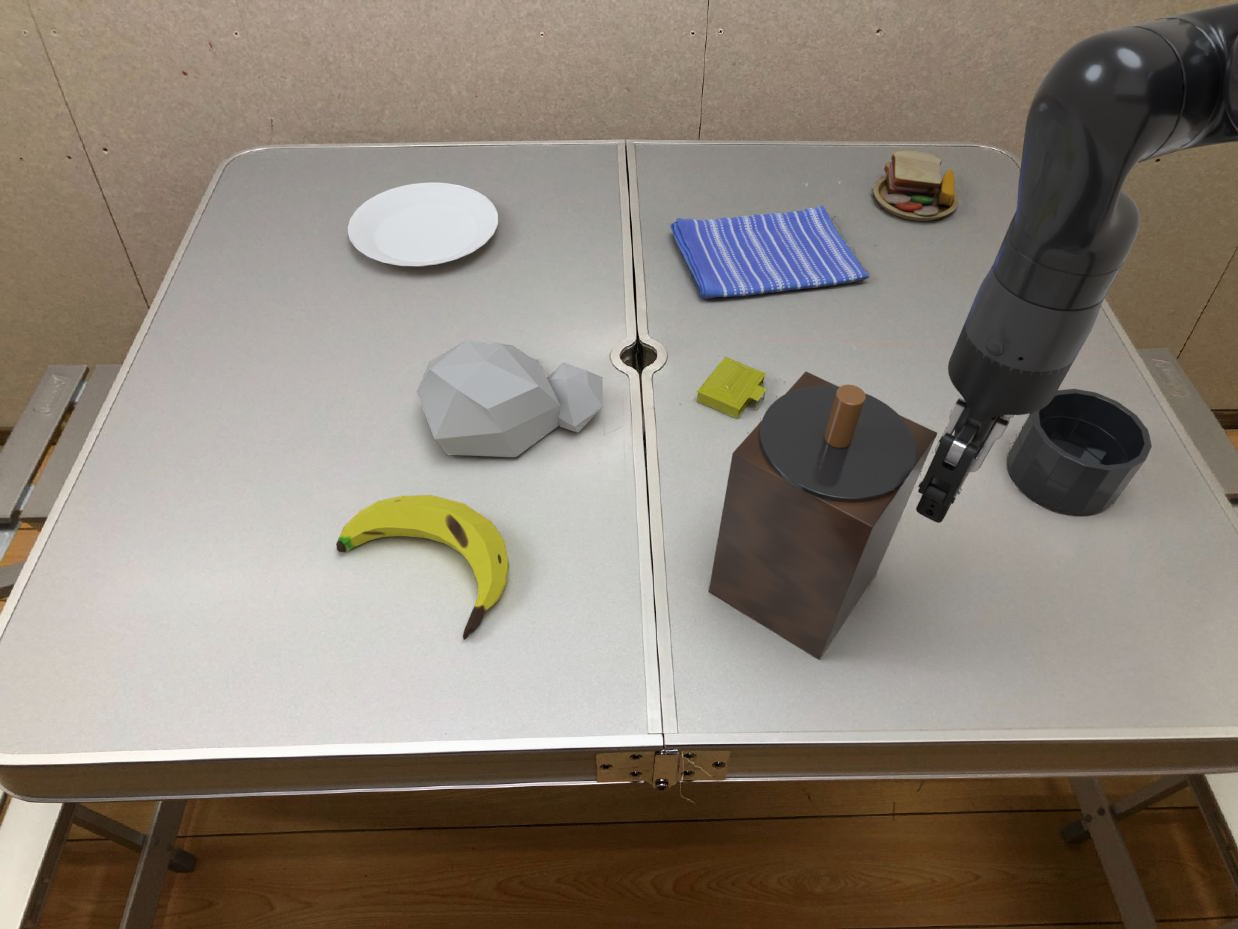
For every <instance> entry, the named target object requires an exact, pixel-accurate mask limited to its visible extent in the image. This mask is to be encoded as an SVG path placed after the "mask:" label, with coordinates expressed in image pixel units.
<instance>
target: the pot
mask: <svg viewBox="0 0 1238 929" xmlns="http://www.w3.org/2000/svg"><path fill="white" fill-rule="evenodd" d="M1152 447H1153V445H1152V441H1151V436H1150V431H1149V429H1148V428H1147V427H1146V426H1145V424H1144V423H1143V421H1142V420H1141V419H1140V418H1139V416H1138V415H1137V414H1136V413H1134V412H1133V411H1132V410H1131V409H1129V408H1127V407H1126V406H1125V405H1123V403H1121V402H1119V401H1118V400H1115V399H1113V398H1110V397H1108V396H1106V395H1103V394H1101V393H1098V392H1096V391H1091V390H1085V389H1079V388H1068V389H1058V391H1057V392H1056V394H1055V396H1054V398H1053V399H1052V401H1051V402H1050V403H1049V404H1048V405H1047V406H1045V407H1044V408H1042V409H1041V410H1039V411H1036V412H1033V413H1030V414H1028V416H1027V418H1026V420H1025V422H1024V424H1023V426H1022V427H1021V430H1020V431H1019V433H1018V435H1017V437H1016V439H1015V440H1014V442H1013V444H1012V445H1011V448H1010V449H1009V451H1008V453H1007V458H1006V466H1007V471H1008V475H1009V476H1010V478H1011V480H1012V482H1013V483H1014V485H1015V486H1016V487H1017V488H1018V489H1019V491H1020V492H1021V493H1022V494H1024V496H1026V497H1027V498H1028V499H1030V500H1031V501H1033V502H1034V503H1036V504H1037V505H1039V506H1041V507H1043V508H1045V509H1047V510H1050V511H1053V512H1056V513H1057V514H1062V515H1067V516H1073V517H1086V516H1087V517H1088V516H1093V515H1097V514H1101V513H1103V512H1105V511H1106V510H1108V509H1109V508H1110V507H1111V506H1113V505H1114V504H1115V503H1116V501H1117V500H1118V499H1119V498H1120V496H1121V495H1122V493H1124V490H1125V489H1126V488H1127V487H1128V485H1129V484H1130V483H1131V481H1132V480H1133V479H1134V477H1135V476H1136V474H1138V472H1139V470H1140V469H1141V468H1142V466H1143V465H1144V463H1145V462H1146V461H1147V459H1148V457H1149V454H1150V452H1151V449H1152Z"/></svg>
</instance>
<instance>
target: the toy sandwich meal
mask: <svg viewBox="0 0 1238 929" xmlns="http://www.w3.org/2000/svg"><path fill="white" fill-rule="evenodd" d="M890 160H891V161H888V162H887V163H885V165H884V168H883V171H884V172H885V176H883V177H881V178H879V179H878V180H877V181H876V182H875V184H874V185H873V195H874V197H875V200H876V201H877V202H878V204H879V205H880V206H881V208H883V209H884V210H885V211H887V212H888V213H889V214H891V215H893V216H896V217H898V218H901V219H905V220H909V221H915V222H929V221H936V220H939V219H942V218H943V217H946V216H948V215H949V214H950V215H951V213H953V212H954V211H955V210H956V209H957V207H958V206H959V197H958V195H957V194H958V193H956V192H955V175H954V171H953V169H947V170H946V171H945V174H944V176H943V178H942V172H941V164H942V162H943V159H942V157H939V156H938V155H935V154H932V153H928V152H924V151H919V150H906V149H905V150H896V151H894V152H893V153H892V155H891V158H890Z"/></svg>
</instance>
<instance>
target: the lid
mask: <svg viewBox="0 0 1238 929" xmlns="http://www.w3.org/2000/svg"><path fill="white" fill-rule="evenodd" d="M786 393H787V392H786ZM786 393H784V394H783V395H781V396H779V398H778V397H777V399H775V401H774V402H772V403H771V404H770V405H769V407H767V409H766V410H765V412H764V414H763V416H762V418H761V421H762V422H761V421H760V422H761V426H760V434H759V436H760V444H761V448H762V451H763V453H764V456H765V458H766V459H767V461H768V462H769V464H770V465H771V467H772V468H773V469H774V470H775V471H776V472H777V473H778V474H779V475H780V476H781V477H782V478H783V479H784V480H786V481H787V482H788V483H790V484H791V485H793V486H795V487H796V488H798V489H800V490H802V491H804V492H806V493H808V494H811V495H814V496H816V497H819V498H823V499H827V500H832V501H839V502H864V501H870V500H874V499H878V498H881V497H883V496H886V495H888V494H890V493H892V492H893V491H895V490H897V489H898V488H899V487H900V486H901V485H903V484H904V483H905V481H906V480H907V479H908V478H909V476H910V474H911V472H912V470H913V468H914V465H915V462H916V455H917V451H916V443H915V439H914V437H913V434H912V432H911V430H910V428H909V427H908V425H907V424H906V422H905V421H904V420H903V419H902V417H901V416H902V415H901V414H899V413H898V412H897V411H895V410H894V409H893V408H892V407H891V406H890V405H888V404H887V403H885V402H883V401H882V400H881V399H878V398H877V397H874V396H873V395H870V394H868V393H866V392H865V391H864V390H863V389H862V388H861V387H859V386H857V385H854V384H843V385H841V386H838V385H836V386H828V385H820V386H810V387H804V388H800V389H796V390H794V391H791V392H789V393H787V394H786ZM900 415H901V416H900Z"/></svg>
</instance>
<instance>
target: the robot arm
mask: <svg viewBox="0 0 1238 929" xmlns="http://www.w3.org/2000/svg"><path fill="white" fill-rule="evenodd" d="M1035 91H1036V92H1035V93H1034V95H1033V98H1032V101H1031V103H1030V106H1029V109H1028V113H1027V116H1026V123H1025V128H1024V137H1023V143H1022V144H1023V145H1022V151H1021V152H1022V153H1021V161H1020V162H1021V163H1020V168H1019V169H1020V170H1019V176H1018V184H1017V185H1018V186H1017V202H1016V210H1015V213H1014V215H1013V217H1012V219H1011V220H1010V223H1009V225H1008V228H1007V230H1006V232H1005V235H1004V237H1003V240H1002V242H1001V245H1000V246H999V250H998V252H997V253H996V256H995V259H994V261H993V264H992V265H991V267H990V269H989V270H988V272H987V274H986V276H985V277H984V279H983V281H982V282H981V284H980V286H979V287H978V290H977V292H976V295H975V297H974V299H973V302H972V304H971V307H970V309H969V311H968V314H967V315H966V319H965V321H964V323H963V326H962V328H961V331H960V333H959V335H958V338H957V340H956V343H955V346H954V348H953V350H952V353H951V355H950V357H949V360H948V365H947V373H948V378H949V380H950V382H951V384H952V385H953V387H954V388H955V390H956V391H957V392H958V393H959V394H960V396H961V397H962V398H961V397H958V398H957V400H956V402H955V403H954V405H953V407H952V409H951V411H950V412H949V415H948V417H949V418H948V419H949V422H948V424H947V426H946V428H945V429H944V431H943V433H942V435H941V436H940V438H939V440H938V442H937V444H936V446H935V448H934V455H933V458H932V460H931V462H930V464H929V466H928V468H927V470H926V472H925V475H924V477H923V479H922V481H920V483H919V484H918V487H917V488H918V490H917V493H919V494H921V496H920V498H919V500H918V502H917V505H916V507H915V511H916V512H917V513H918V515H920V516H923V517H925V518H926V519H928V520H930V521H932V522H934V523H938V524H940V523H942V522H943V521H944V519H945V517H946V516H947V514H948V512H949V510H950V508H951V506H952V505H953V504H954V503H955V501H956V498H957V497H958V496H957V495H959V496H960V494H961V493H962V490H963V488H962V486H963V485H964V483H965V481H966V480H967V478H968V476H969V474H970V473H975V472H977V471H979V470H980V468H981V467H982V465H983V463H984V462H985V460H986V458H987V456H988V454H989V452H990V451H991V450H992V447H993V446H994V444H995V442H996V441H998V440H1000V439H1001V438H1002V437H1003V435H1004V433H1005V431H1006V429H1007V428H1008V426H1009V424H1010V422H1011V419H1013V418H1014V417H1015V416H1023V415H1029V414H1030V413H1033V412H1036V411H1039V410H1041V409H1042V408H1044V407H1045V406H1047V405H1048V404H1049V403H1050V402H1051V401H1052V399H1053V398H1054V396H1055V394H1056V392H1057V391H1058V390H1060V387H1061V385H1062V383H1063V382H1064V380H1065V378H1066V376H1067V374H1068V373H1069V371H1070V369H1071V367H1072V365H1073V363H1074V362H1075V361H1076V359H1077V357H1078V355H1079V353H1080V352H1081V349H1082V348H1083V346H1084V345H1085V343H1086V341H1087V339H1088V337H1089V335H1090V334H1091V331H1092V329H1093V327H1094V325H1095V323H1096V320H1097V318H1098V315H1099V312H1100V309H1101V307H1102V305H1103V302H1104V300H1105V298H1106V296H1107V294H1108V293H1109V291H1110V289H1111V287H1112V286H1113V284H1114V282H1115V280H1116V278H1117V276H1118V275H1119V273H1120V271H1121V269H1122V267H1123V266H1124V264H1125V262H1126V260H1127V258H1128V256H1129V254H1130V252H1131V250H1132V248H1133V246H1134V244H1135V242H1136V240H1137V237H1138V234H1139V231H1140V226H1141V214H1140V209H1139V208H1138V205H1137V203H1136V201H1135V200H1134V198H1132V197H1131V196H1130V195H1129V194H1128V193H1127V192H1126V191H1124V190H1122V189H1123V186H1124V183H1125V182H1126V180H1127V178H1128V177H1129V176H1130V174H1131V172H1132V171H1133V169H1134V168H1135V166H1137V164H1140V163H1143V162H1146V161H1149V160H1153V159H1157V158H1160V157H1163V156H1167V155H1170V154H1174V153H1176V152H1180V151H1185V150H1190V149H1196V148H1201V147H1208V146H1213V145H1221V144H1228V143H1237V142H1238V2H1233V3H1228V4H1223V5H1218V6H1212V7H1207V8H1202V9H1198V10H1193V11H1188V12H1182V13H1179V14H1174V15H1169V16H1165V17H1159V18H1156V19H1153V20H1149V21H1144V22H1140V23H1136V24H1131V25H1127V26H1123V27H1118V28H1113V29H1109V30H1105V31H1101V32H1098V33H1094V34H1091V35H1089V36H1087V37H1084V38H1082V39H1081V40H1079V41H1077V42H1075V43H1074V44H1073V45H1071V46H1070V47H1069V48H1068V49H1066V50H1065V51H1064V52H1063V53H1062V54H1061V55H1060V56H1059V57H1058V58H1057V59H1056V60H1055V62H1054V63H1053V64H1052V66H1051V67H1050V68H1049V70H1048V71H1047V73H1046V74H1045V76H1044V77H1043V78H1042V80H1041V82H1040V83H1039V86H1038V88H1037V89H1036V90H1035ZM953 433H954V434H953Z"/></svg>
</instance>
